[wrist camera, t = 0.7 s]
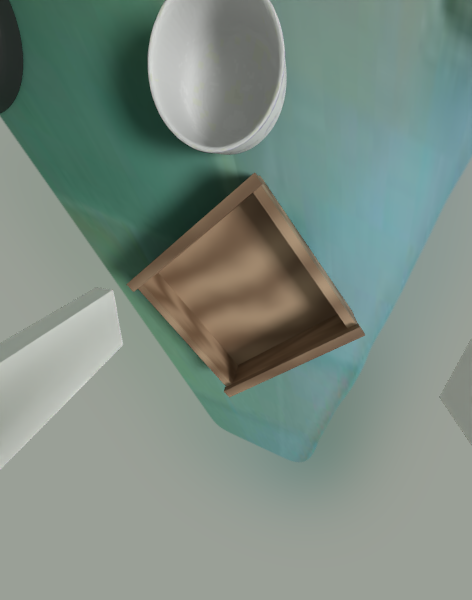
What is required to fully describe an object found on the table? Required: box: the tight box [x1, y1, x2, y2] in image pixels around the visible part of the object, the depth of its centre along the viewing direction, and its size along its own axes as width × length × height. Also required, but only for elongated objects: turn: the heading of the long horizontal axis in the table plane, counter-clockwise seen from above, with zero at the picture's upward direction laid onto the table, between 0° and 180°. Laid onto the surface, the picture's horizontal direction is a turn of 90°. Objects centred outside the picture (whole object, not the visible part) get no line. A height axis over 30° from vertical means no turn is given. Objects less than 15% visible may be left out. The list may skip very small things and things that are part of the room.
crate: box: [127, 173, 365, 397], centre depth 32 cm, size 20×19×6 cm
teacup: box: [148, 0, 286, 155], centre depth 22 cm, size 14×11×8 cm
